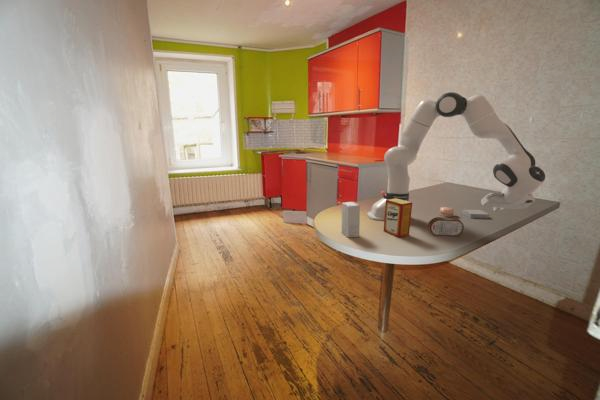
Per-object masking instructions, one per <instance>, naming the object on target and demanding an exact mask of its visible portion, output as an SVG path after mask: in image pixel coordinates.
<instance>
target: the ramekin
mask: <svg viewBox="0 0 600 400" xmlns="http://www.w3.org/2000/svg"><path fill="white" fill-rule="evenodd" d="M454 210H455V209H454V208H453V207H448V206H441V207H439V216H440V217H445V218H454V212H455V211H454Z"/></svg>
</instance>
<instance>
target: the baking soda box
mask: <svg viewBox="0 0 600 400" xmlns="http://www.w3.org/2000/svg"><path fill="white" fill-rule="evenodd" d="M412 208H413V201H405V200H401V199H397V198H394V199H388V200H386V206H385V219H384V220H383V224H384V225H383V232H384V233H386V234H389V235H391V236H393V237H396V238H398V239H399V238H403V237H407V236H410V230H411V219H412Z"/></svg>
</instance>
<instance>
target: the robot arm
mask: <svg viewBox="0 0 600 400" xmlns="http://www.w3.org/2000/svg"><path fill="white" fill-rule="evenodd" d="M459 115H460V116H462V117H463V118H464V120H465V121H466V123H467V125H468V128H469V129H470V132H471V133H472V134H473V135H474V136H475V137H477V138H479V139H495V140H497V141H498V142H499V143H500V144H501V145H502V147H503V148H504V149H505V151H506V152H507V154H508V157H507V158H505V159H503V160H502V161H500V162H498V163H497V164H495V165H494V166H493V169H492V174H493V177H494V178H495V179H496V181H498V182H499V183H501V184H503V185H504V186H505V187H504V189H502V191H501V193H500V192H490V193H488V194H486V195H485V196H484V197H483V198H481V200H480V203H481V205H482V207H484V208H492V209H493V212H501V211H503V210H506V209H520V210H523V209H526V208H528V207H529V206H531V205H532V204H533V203H535V202H536V198H535V197H534V194H533V193H534V192H535V191H537V190H538V189H539V188H540V187H541V186H542V184H543V183H544V182H545V180H546V173H545V171H544V170H543V169H542V168H541V167H539V166H536V160H535V157H534V156H533V154H532V153H531V152H529V151H528V150H527V149H526V148H525V147H524V145H523V144H522V143H521V141H520V140H519V138H518V137H517V135H516V134H515V132H513V130H512V128H511V127H510V126H509V125H508V124H507V123H505V122H503V121H502V119H500V118H499V116H498V115H497V113H496V111H495V109H494V108H493V106H492V104H491V103H490V102H489V100H488V99H487V98H486V97H485V96H484V95H482V94H476V95H475V94H474V95H472V96H470V97H468V98H465V97H464V96H462V95H461V94H460V93H458V92H454V91H450V92H446V93H445V92H444V93H443V94H442V95H440V96H439V97H438V98H437V100H433V99H423V100H421V101H420V102H419V103H418V105H416V107H415V109H414V110H413V111H412V112H411V115H410V117H409V119H408V120H407V122H406V124H405V126H404V128H403V130H402V132H401V138H400V140H399V143H398V145H397V146H393V147H391V148H389V149H388V150H387V151H385V153H384V157H383V160H384V163H385V164H386V169H387V191H385V190H381V193H380V194H381V195H382V198H380V199H379V200H378V201H376V202H375V203H373V204H372V207H371V210H370V211H369V210H368V211H367V217H368V218H370V219H371V220H375V221H384V219H385V206H386V200H388V199H394V198H397V199H401V200H405V201H409V200H410V193H409V189H410V181H411V179H410V176H409V169H408V166H410V165H411V164H412V163H414V162H415V160H416V158H417V155H418V153H419V151H420V147H421V145H422V143H423V141H424V140H425V137H426V135H427V134H428V132H429V130H430V128H431V127H432V125H433V124H434V122H435V120H436V119H437V118H438V117H440V116H441V117H443V118H453V117H455V116H459ZM409 202H410V201H409Z"/></svg>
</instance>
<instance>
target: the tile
mask: <svg viewBox="0 0 600 400" xmlns="http://www.w3.org/2000/svg"><path fill="white" fill-rule="evenodd" d="M461 211H462V212H461V213H462V215H464V216H466V217H467V218H469V219H490V214H489V213H487V212H486V211H484V210H481V209H462V210H461Z"/></svg>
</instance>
